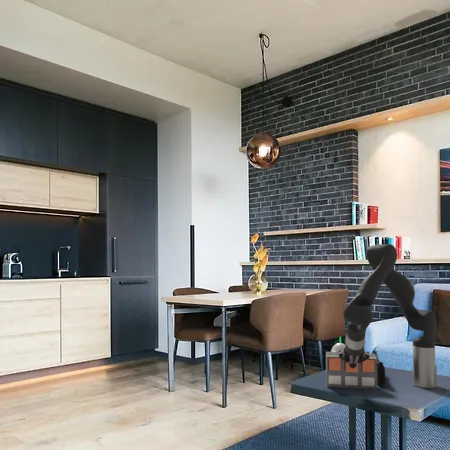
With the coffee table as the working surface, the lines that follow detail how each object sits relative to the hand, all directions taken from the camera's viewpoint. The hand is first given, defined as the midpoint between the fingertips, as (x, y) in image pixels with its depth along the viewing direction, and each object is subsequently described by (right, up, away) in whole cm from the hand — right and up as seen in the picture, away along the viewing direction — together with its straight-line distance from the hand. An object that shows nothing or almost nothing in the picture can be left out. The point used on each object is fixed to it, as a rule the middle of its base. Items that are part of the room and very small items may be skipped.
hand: (352, 366), depth 205 cm
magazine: (+17, -13, +22) cm, 31 cm away
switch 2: (+1, -3, +5) cm, 6 cm away
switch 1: (-6, -3, +8) cm, 11 cm away
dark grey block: (+1, -11, +8) cm, 14 cm away
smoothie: (-1, -12, +17) cm, 21 cm away
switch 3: (+8, -4, +6) cm, 10 cm away
